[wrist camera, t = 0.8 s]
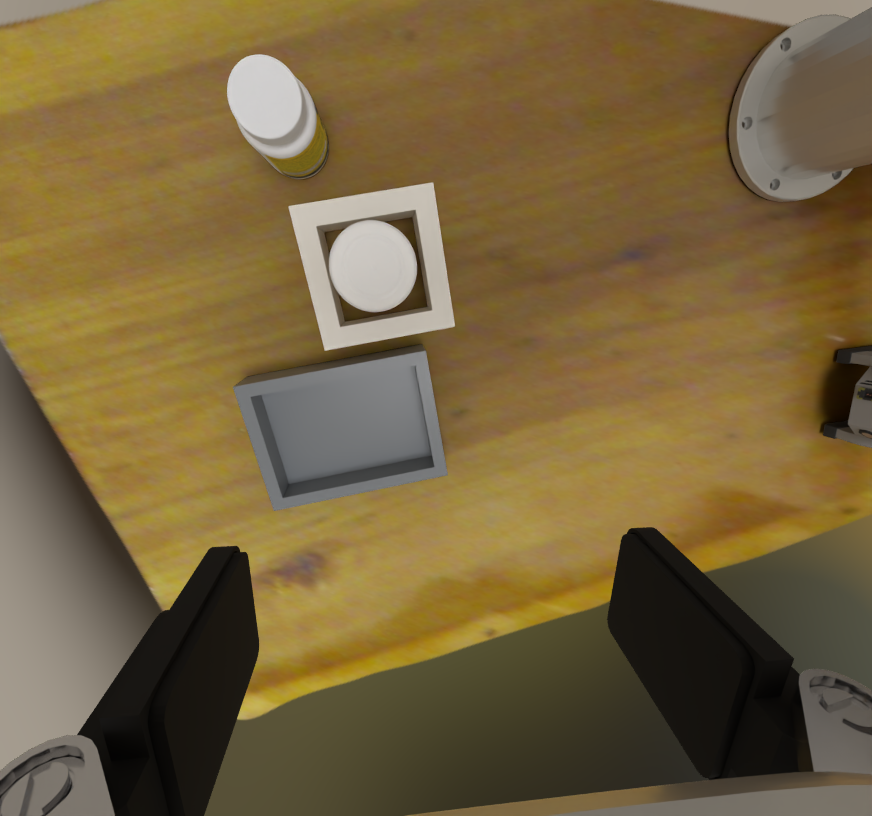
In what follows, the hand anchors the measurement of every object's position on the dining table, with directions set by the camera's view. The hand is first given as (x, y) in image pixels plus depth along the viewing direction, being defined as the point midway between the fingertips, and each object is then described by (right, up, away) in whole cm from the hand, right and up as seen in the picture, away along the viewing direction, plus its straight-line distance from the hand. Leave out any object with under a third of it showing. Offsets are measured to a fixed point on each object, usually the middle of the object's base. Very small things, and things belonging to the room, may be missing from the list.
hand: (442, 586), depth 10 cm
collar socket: (-5, +15, +24) cm, 29 cm away
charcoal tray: (-8, +3, +27) cm, 28 cm away
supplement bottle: (-10, +24, +21) cm, 33 cm away
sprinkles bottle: (-5, +16, +24) cm, 29 cm away
